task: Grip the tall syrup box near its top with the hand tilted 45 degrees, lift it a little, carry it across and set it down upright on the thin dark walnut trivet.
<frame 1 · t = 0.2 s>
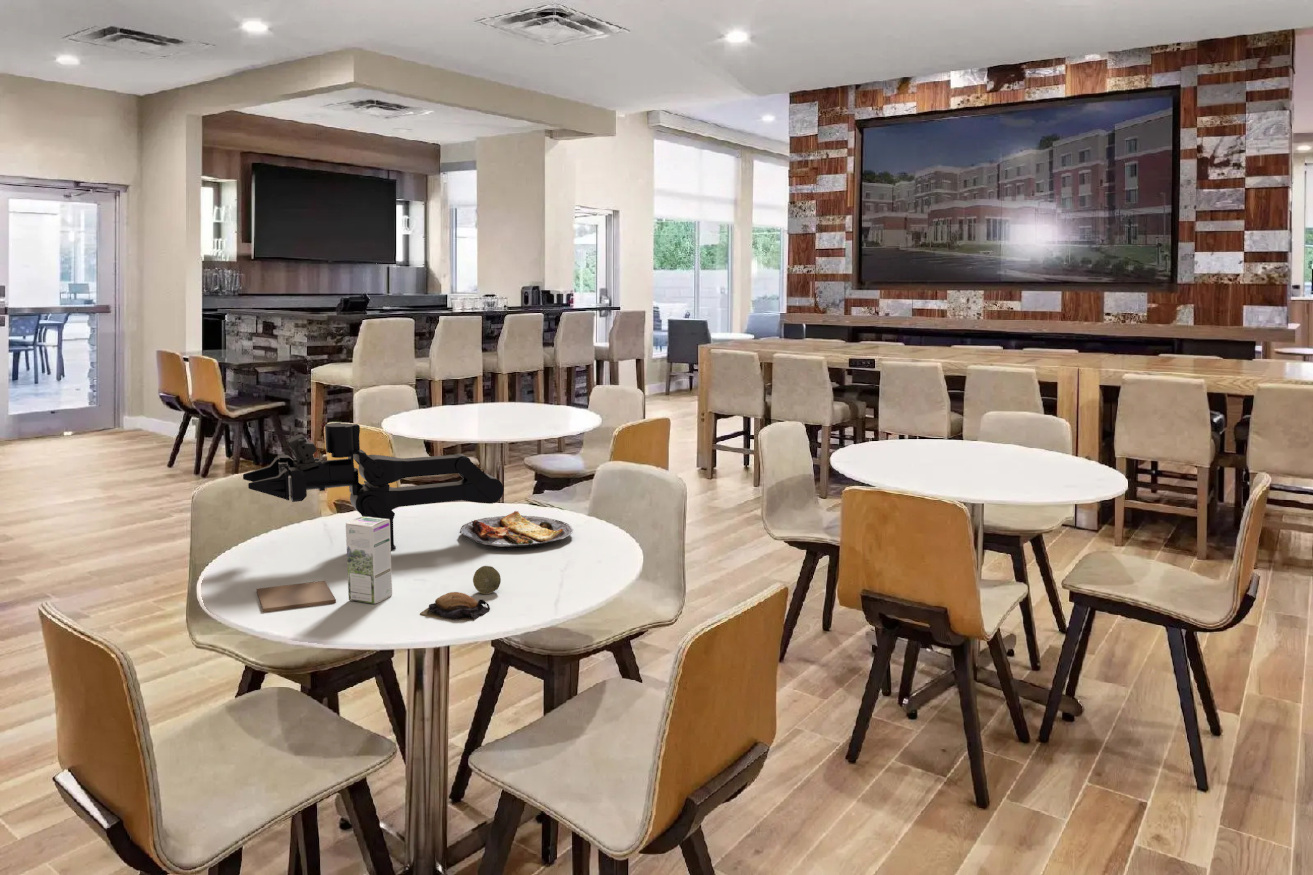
hand: (245, 481, 195), 17 cm above the table, tool horizontal, fingers open, 9 cm apart
lime: (486, 593, 182), on the table
syrup box: (370, 599, 177), on the table
walnut trivet: (295, 597, 177), on the table
food plate: (516, 538, 221), on the table
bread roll: (455, 615, 171), on the table
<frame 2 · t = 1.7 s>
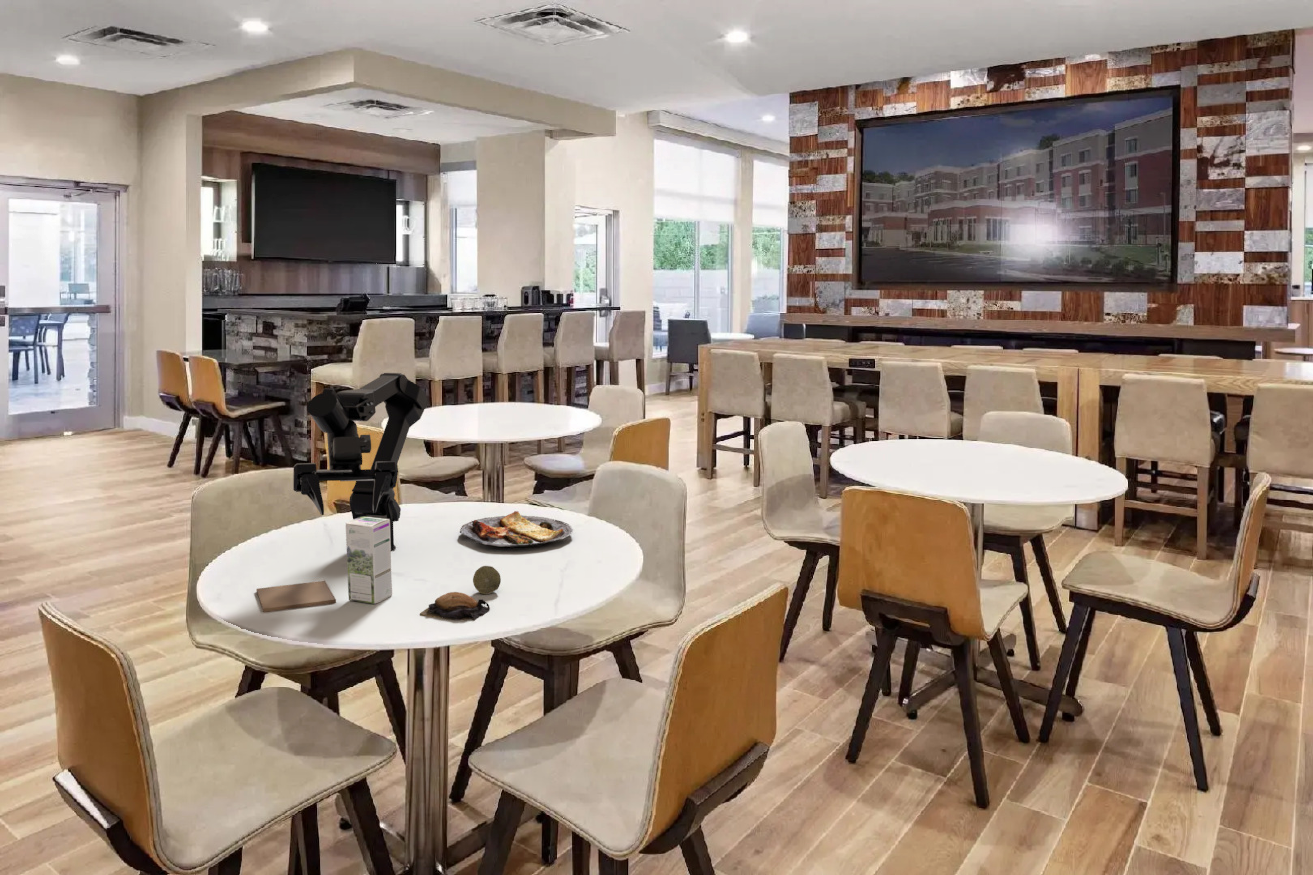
hand: (348, 512, 182), 14 cm above the table, tool tilted 45°, fingers open, 9 cm apart
nothing on the table moved.
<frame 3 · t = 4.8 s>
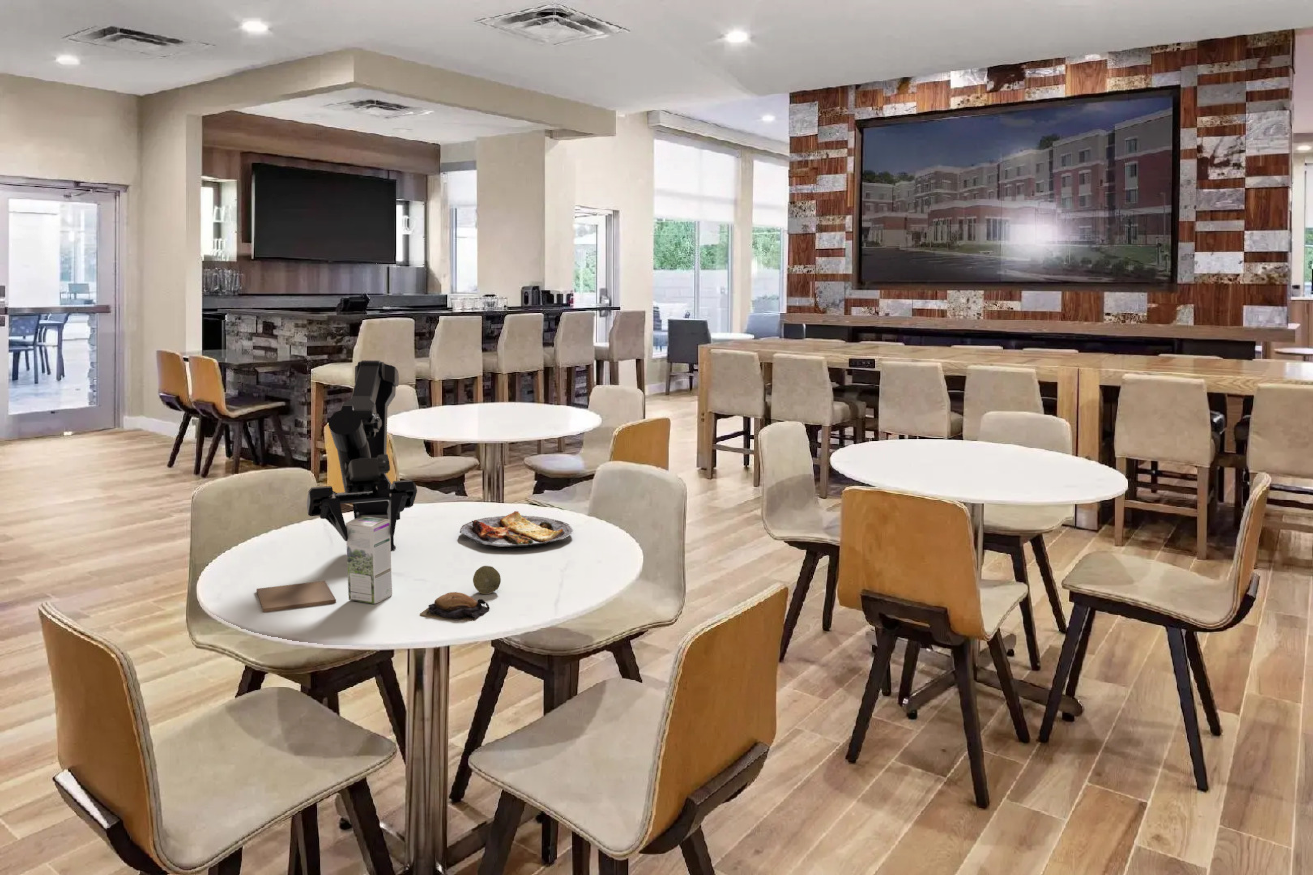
hand: (370, 537, 174), 12 cm above the table, tool tilted 45°, fingers closed on syrup box, 8 cm apart
syrup box: (370, 599, 177), on the table, touching gripper
everything else where it was.
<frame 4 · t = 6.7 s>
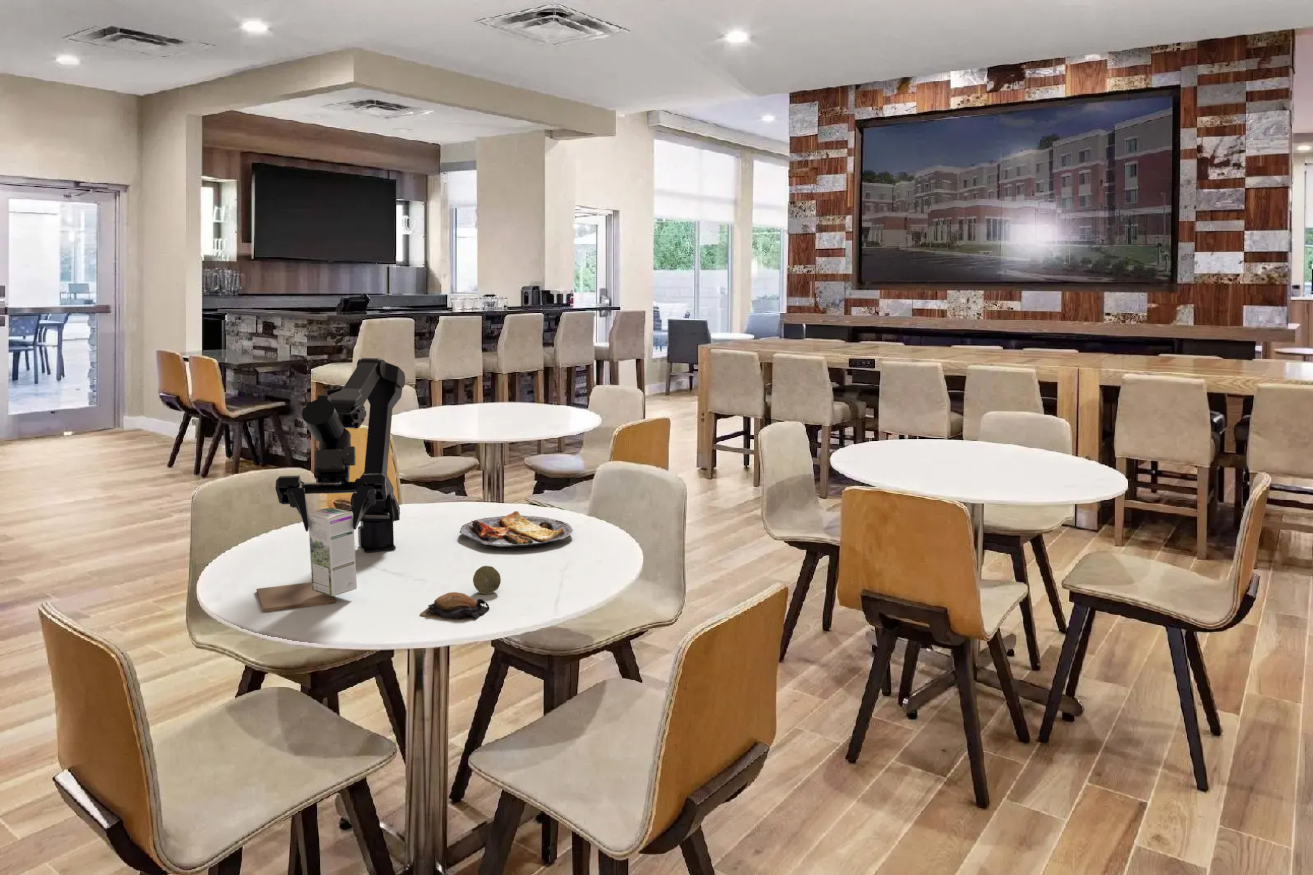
hand: (330, 529, 173), 13 cm above the table, tool tilted 45°, fingers closed on syrup box, 8 cm apart
syrup box: (334, 591, 177), point 1 cm above the table, touching gripper
everything else where it was.
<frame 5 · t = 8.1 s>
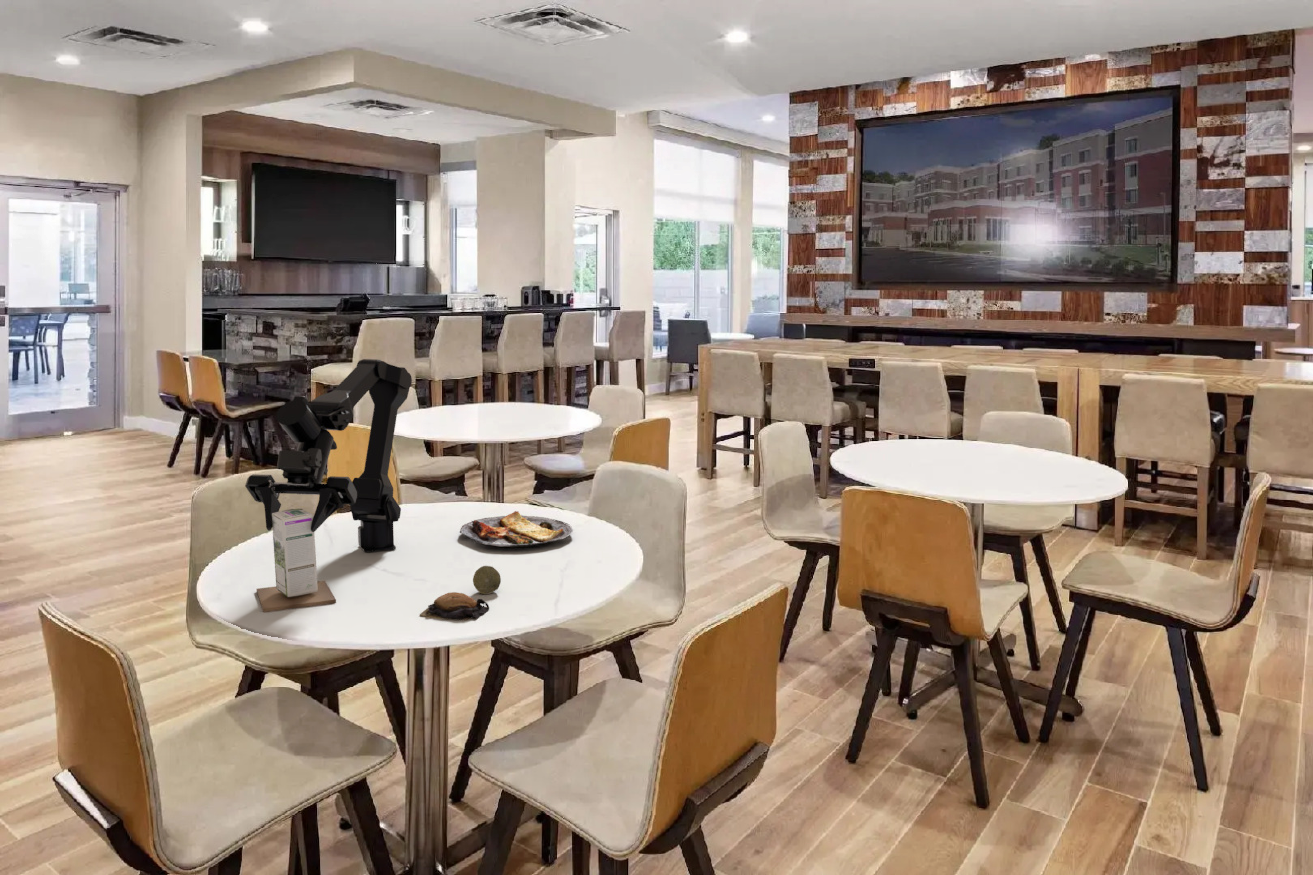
hand: (290, 530, 174), 13 cm above the table, tool tilted 45°, fingers closed on syrup box, 7 cm apart
syrup box: (296, 591, 177), point 1 cm above the table, touching gripper
everything else where it was.
when the fingers open (13 cm above the table, at t = 8.4 s): syrup box stays where it is, resting on walnut trivet.
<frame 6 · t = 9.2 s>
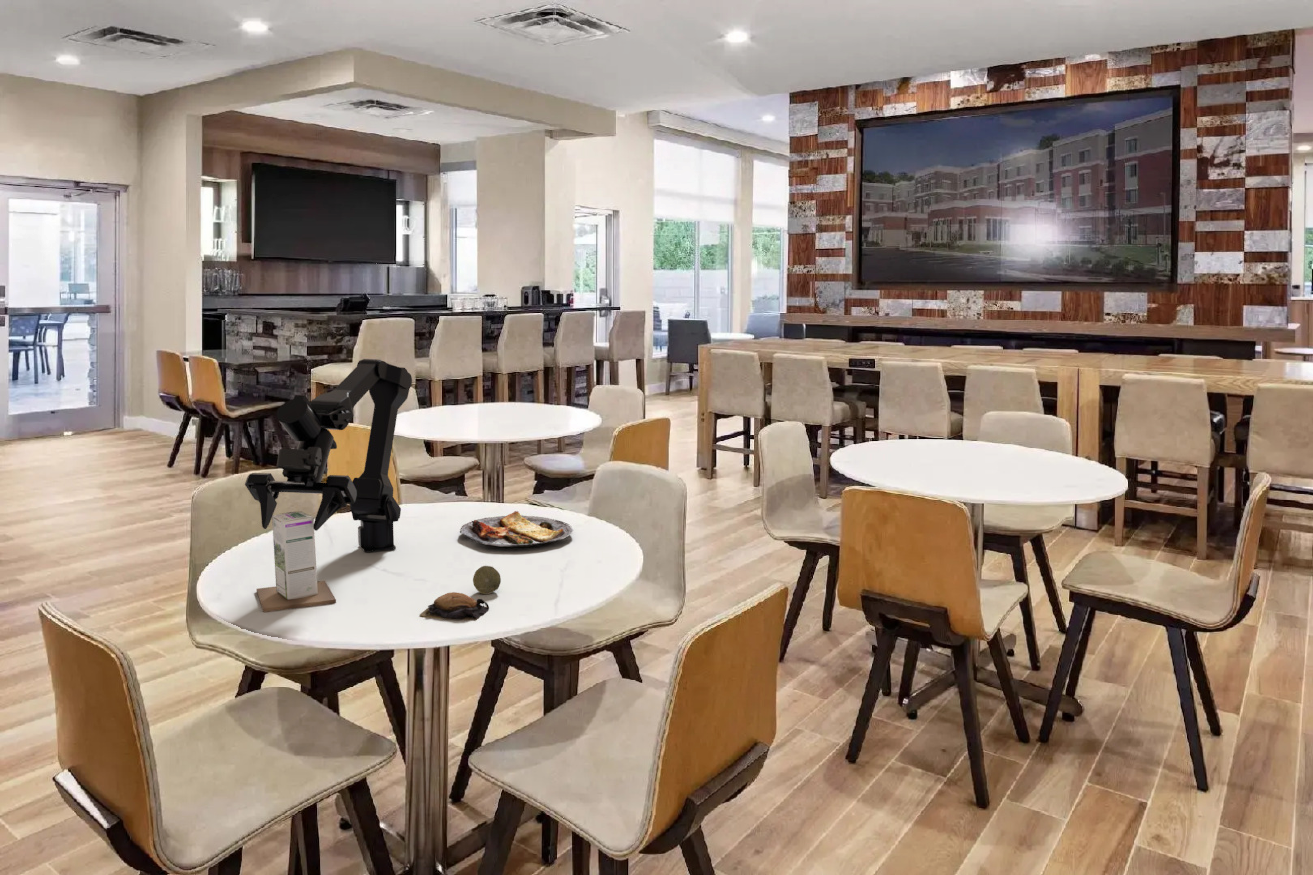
hand: (289, 528, 174), 13 cm above the table, tool tilted 45°, fingers open, 9 cm apart
syrup box: (296, 594, 177), resting on walnut trivet
everything else where it was.
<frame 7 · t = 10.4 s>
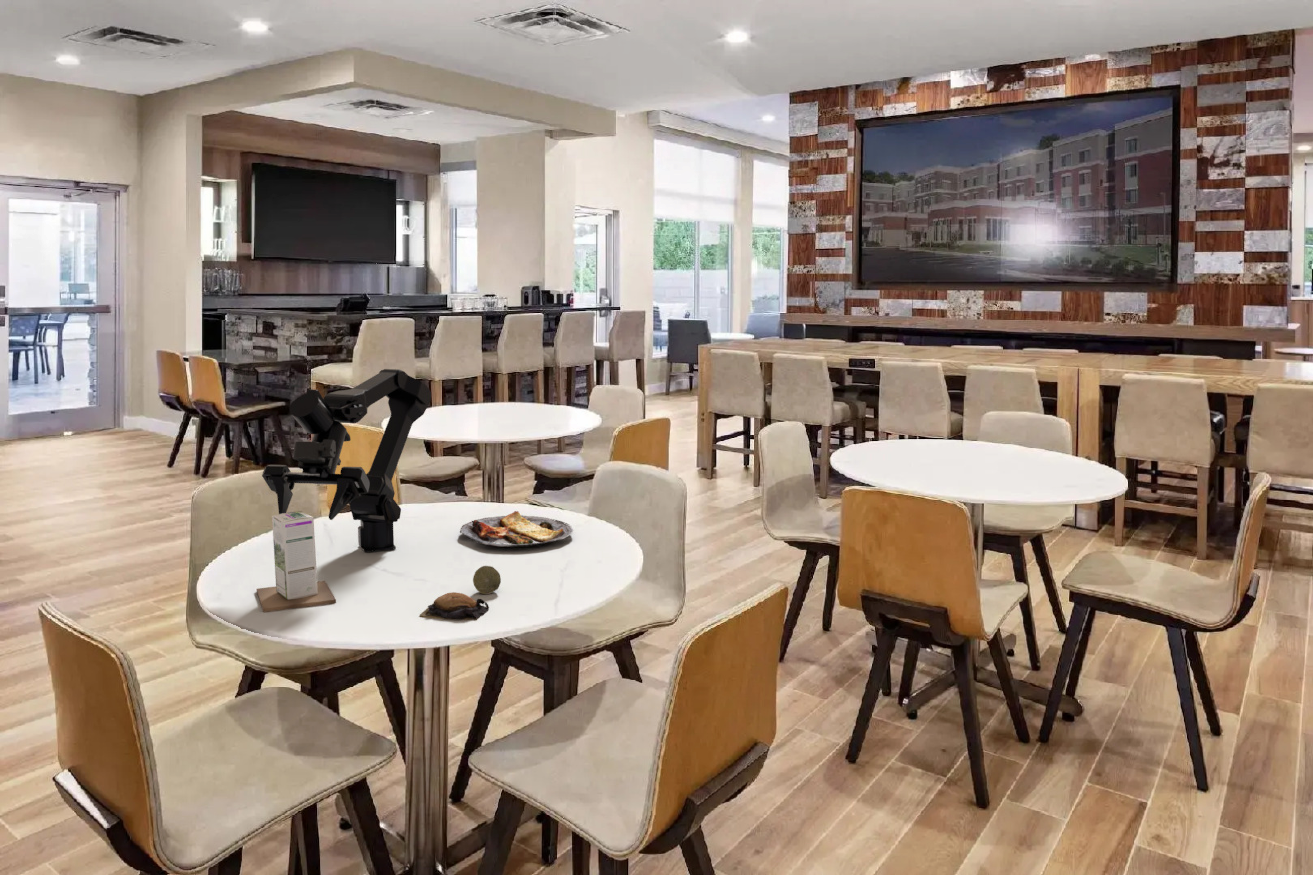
hand: (305, 518, 180), 13 cm above the table, tool tilted 45°, fingers open, 9 cm apart
nothing on the table moved.
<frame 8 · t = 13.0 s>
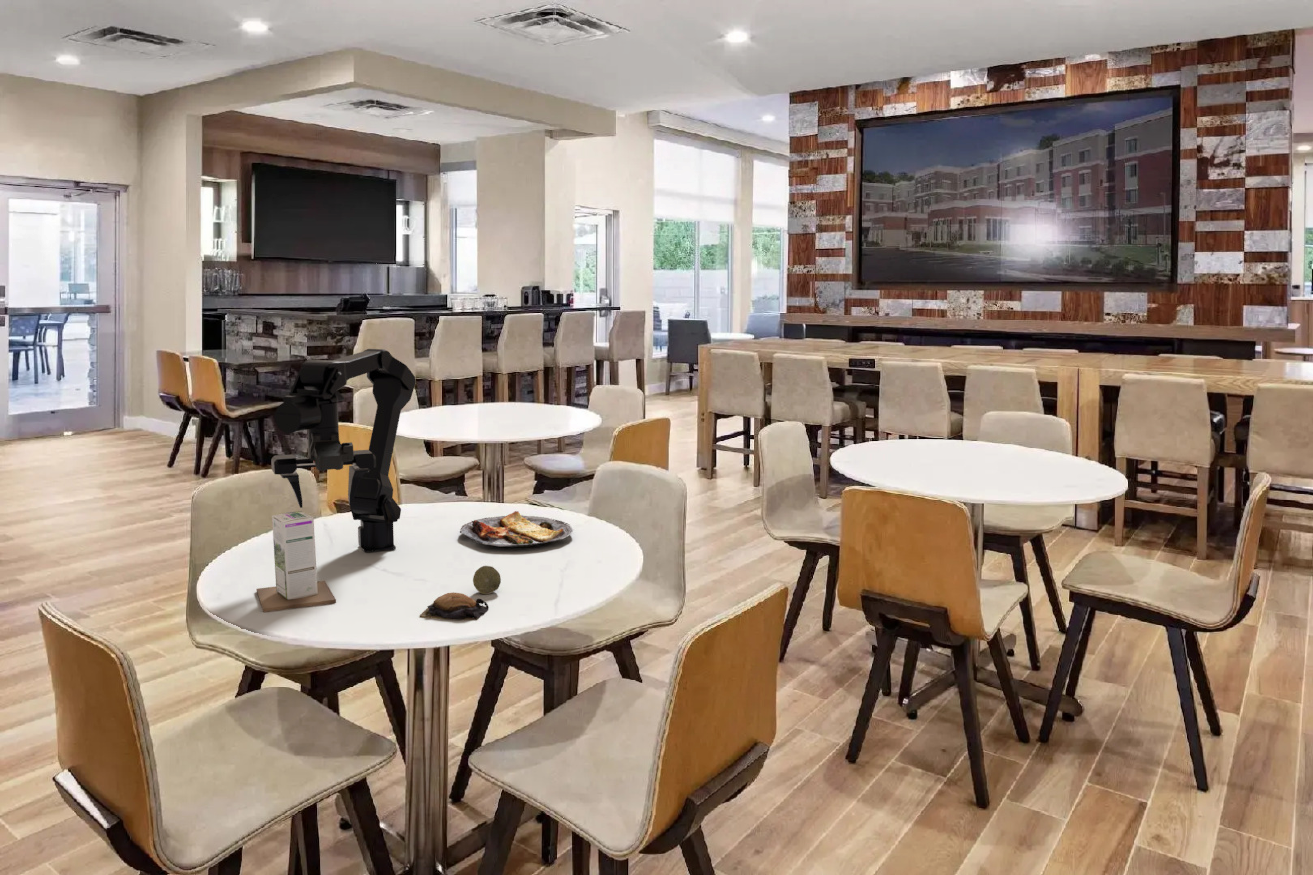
hand: (325, 505, 192), 13 cm above the table, tool pointing down, fingers open, 9 cm apart
nothing on the table moved.
at the end: syrup box inside the target area on the walnut trivet (0.2 cm from its centre), point 0.4 cm above the walnut trivet's base; syrup box tilted 0°; the gripper is holding nothing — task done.
